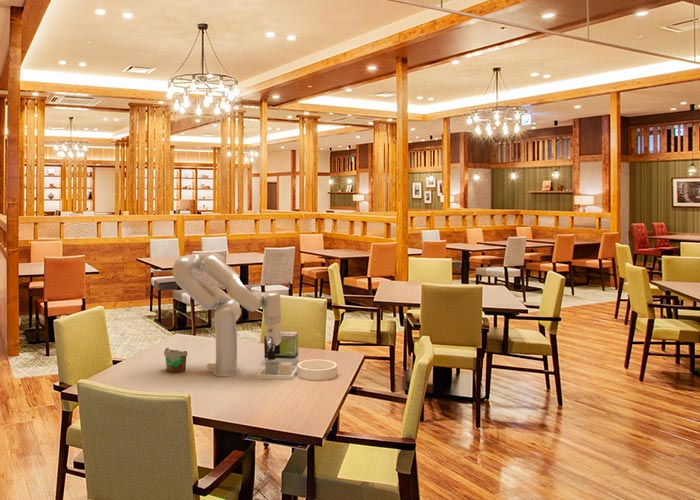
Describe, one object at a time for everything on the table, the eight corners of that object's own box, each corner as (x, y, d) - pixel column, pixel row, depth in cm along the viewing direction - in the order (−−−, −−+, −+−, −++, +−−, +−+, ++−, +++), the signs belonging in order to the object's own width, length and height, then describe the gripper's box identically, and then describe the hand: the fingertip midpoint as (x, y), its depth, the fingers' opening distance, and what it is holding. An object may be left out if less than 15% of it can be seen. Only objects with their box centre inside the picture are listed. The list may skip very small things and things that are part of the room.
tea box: (298, 360, 303) (298, 331, 302) (294, 366, 293) (294, 336, 292) (268, 359, 304) (268, 330, 303) (263, 365, 294) (263, 334, 293)
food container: (158, 371, 282) (157, 350, 281) (167, 368, 287) (167, 347, 286) (178, 375, 276) (178, 353, 275) (187, 372, 281) (187, 350, 280)
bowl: (293, 380, 271) (293, 369, 270) (301, 368, 288) (301, 358, 288) (334, 381, 269) (334, 371, 268) (339, 370, 287) (339, 360, 286)
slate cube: (265, 375, 276) (265, 364, 276) (267, 372, 281) (267, 361, 281) (276, 375, 276) (276, 364, 276) (278, 372, 281) (278, 361, 280)
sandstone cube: (279, 375, 276) (279, 364, 275) (281, 372, 281) (281, 362, 280) (290, 376, 275) (290, 365, 275) (292, 373, 280) (292, 362, 280)
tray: (256, 379, 271) (256, 374, 271) (265, 369, 287) (265, 365, 287) (292, 380, 270) (292, 376, 270) (299, 370, 286) (299, 366, 285)
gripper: (276, 323, 268) (278, 361, 269) (284, 315, 285) (286, 351, 286) (259, 323, 268) (261, 361, 270) (269, 316, 286) (270, 352, 287)
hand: (274, 356), depth 278 cm, fingers open, 9 cm apart
